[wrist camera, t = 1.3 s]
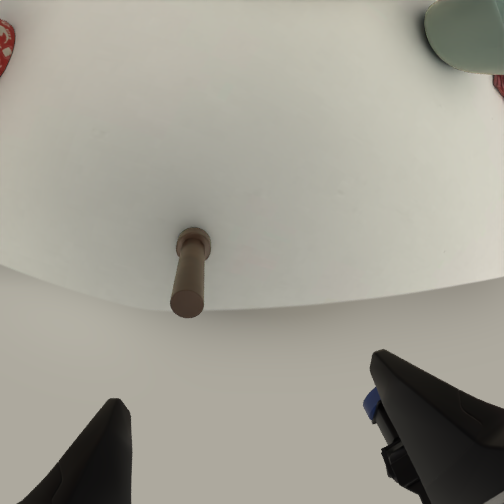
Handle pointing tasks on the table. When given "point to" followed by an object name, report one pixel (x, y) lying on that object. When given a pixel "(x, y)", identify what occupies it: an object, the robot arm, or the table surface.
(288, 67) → the table surface
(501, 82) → the dish towel
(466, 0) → the cup
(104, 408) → the robot arm
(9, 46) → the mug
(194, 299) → the dark brown collared rod
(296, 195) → the table surface
